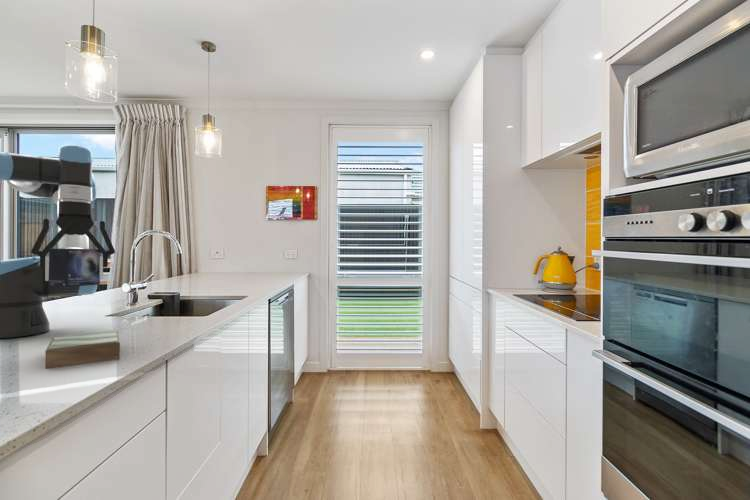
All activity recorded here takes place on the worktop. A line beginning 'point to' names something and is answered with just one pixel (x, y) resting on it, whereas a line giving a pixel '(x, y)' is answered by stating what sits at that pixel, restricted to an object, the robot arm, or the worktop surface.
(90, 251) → the small box
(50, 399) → the worktop surface
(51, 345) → the base block
